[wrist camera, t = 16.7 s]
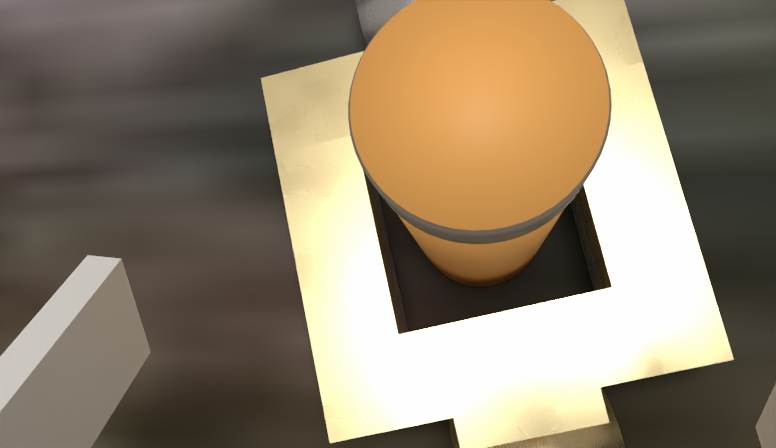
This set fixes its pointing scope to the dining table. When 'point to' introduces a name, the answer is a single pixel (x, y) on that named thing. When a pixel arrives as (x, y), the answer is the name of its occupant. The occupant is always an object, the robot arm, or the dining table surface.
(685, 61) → the dining table surface
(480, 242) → the orange pin
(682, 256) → the square loop key
